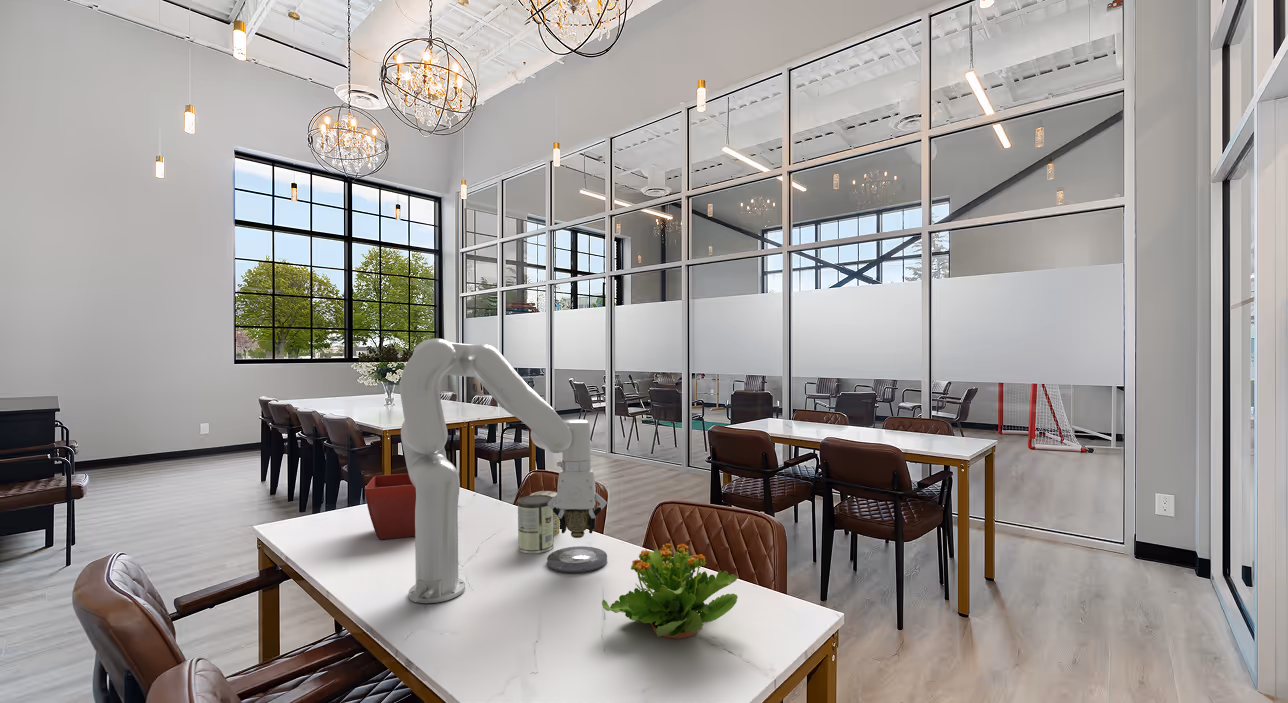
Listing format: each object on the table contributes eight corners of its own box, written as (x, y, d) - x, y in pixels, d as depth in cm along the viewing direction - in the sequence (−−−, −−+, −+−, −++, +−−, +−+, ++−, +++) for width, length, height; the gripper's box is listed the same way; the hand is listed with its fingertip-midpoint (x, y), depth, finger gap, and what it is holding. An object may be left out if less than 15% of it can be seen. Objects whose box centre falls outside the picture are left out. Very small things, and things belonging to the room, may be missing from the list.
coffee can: (524, 541, 169) (523, 494, 169) (557, 542, 168) (557, 494, 168) (512, 553, 159) (512, 503, 159) (548, 554, 158) (548, 504, 158)
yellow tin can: (525, 535, 174) (524, 497, 174) (538, 527, 183) (538, 490, 183) (551, 538, 171) (551, 499, 171) (564, 529, 180) (563, 492, 180)
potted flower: (669, 591, 133) (668, 517, 133) (760, 621, 118) (759, 538, 118) (595, 633, 113) (594, 546, 113) (692, 675, 98) (691, 575, 98)
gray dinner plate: (603, 574, 143) (603, 567, 143) (541, 573, 144) (541, 566, 144) (610, 551, 159) (610, 545, 159) (554, 551, 160) (554, 545, 160)
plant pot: (374, 526, 185) (373, 475, 185) (436, 520, 191) (435, 470, 191) (364, 545, 167) (363, 488, 167) (432, 538, 172) (432, 483, 172)
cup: (589, 541, 148) (589, 510, 148) (561, 541, 148) (561, 511, 148) (592, 532, 156) (592, 503, 156) (566, 532, 156) (566, 503, 156)
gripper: (541, 468, 148) (542, 536, 149) (607, 468, 148) (608, 536, 148) (547, 463, 156) (548, 527, 156) (610, 462, 155) (611, 527, 155)
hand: (577, 531), depth 152 cm, fingers closed on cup, 6 cm apart
